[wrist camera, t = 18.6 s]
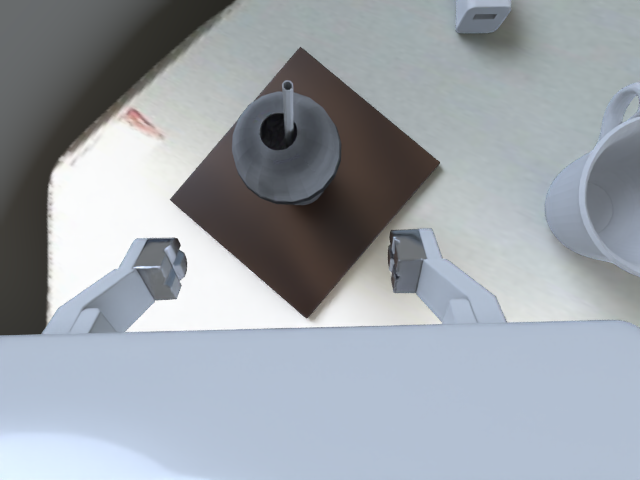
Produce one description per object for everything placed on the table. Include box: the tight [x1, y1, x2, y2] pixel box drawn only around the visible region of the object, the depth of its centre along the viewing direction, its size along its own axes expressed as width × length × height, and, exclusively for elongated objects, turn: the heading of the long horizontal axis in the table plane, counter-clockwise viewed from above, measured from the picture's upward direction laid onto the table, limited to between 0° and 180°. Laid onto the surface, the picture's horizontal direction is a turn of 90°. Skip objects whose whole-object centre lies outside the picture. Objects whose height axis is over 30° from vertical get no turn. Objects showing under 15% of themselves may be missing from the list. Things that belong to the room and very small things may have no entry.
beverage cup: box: [232, 81, 342, 205], centre depth 26 cm, size 7×7×20 cm
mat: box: [170, 47, 440, 318], centre depth 36 cm, size 20×18×1 cm
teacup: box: [545, 82, 640, 277], centre depth 31 cm, size 12×15×10 cm
